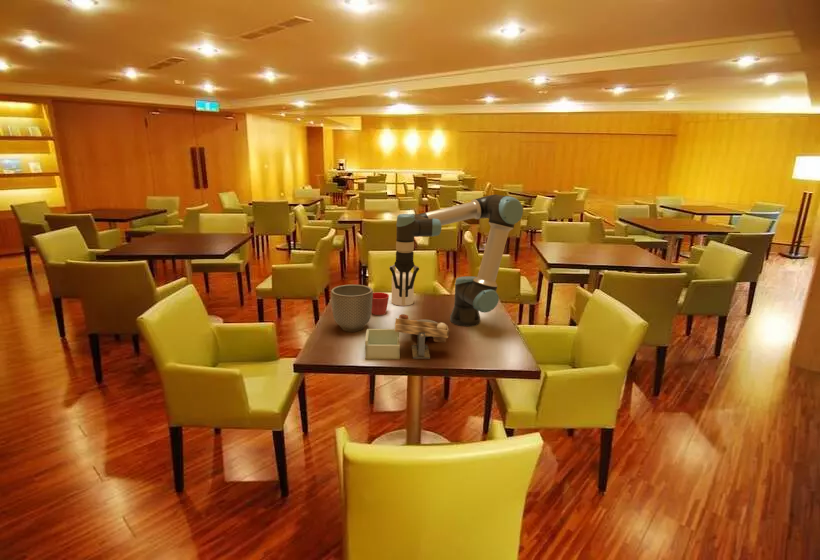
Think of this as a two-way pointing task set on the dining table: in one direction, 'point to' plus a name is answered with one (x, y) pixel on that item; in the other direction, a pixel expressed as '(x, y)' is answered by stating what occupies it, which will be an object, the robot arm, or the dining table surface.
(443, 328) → the ball
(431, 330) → the lever
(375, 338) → the cream open box
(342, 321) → the planter
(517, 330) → the dining table surface
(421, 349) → the stand
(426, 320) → the dish
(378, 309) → the flower pot
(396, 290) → the white bottle
